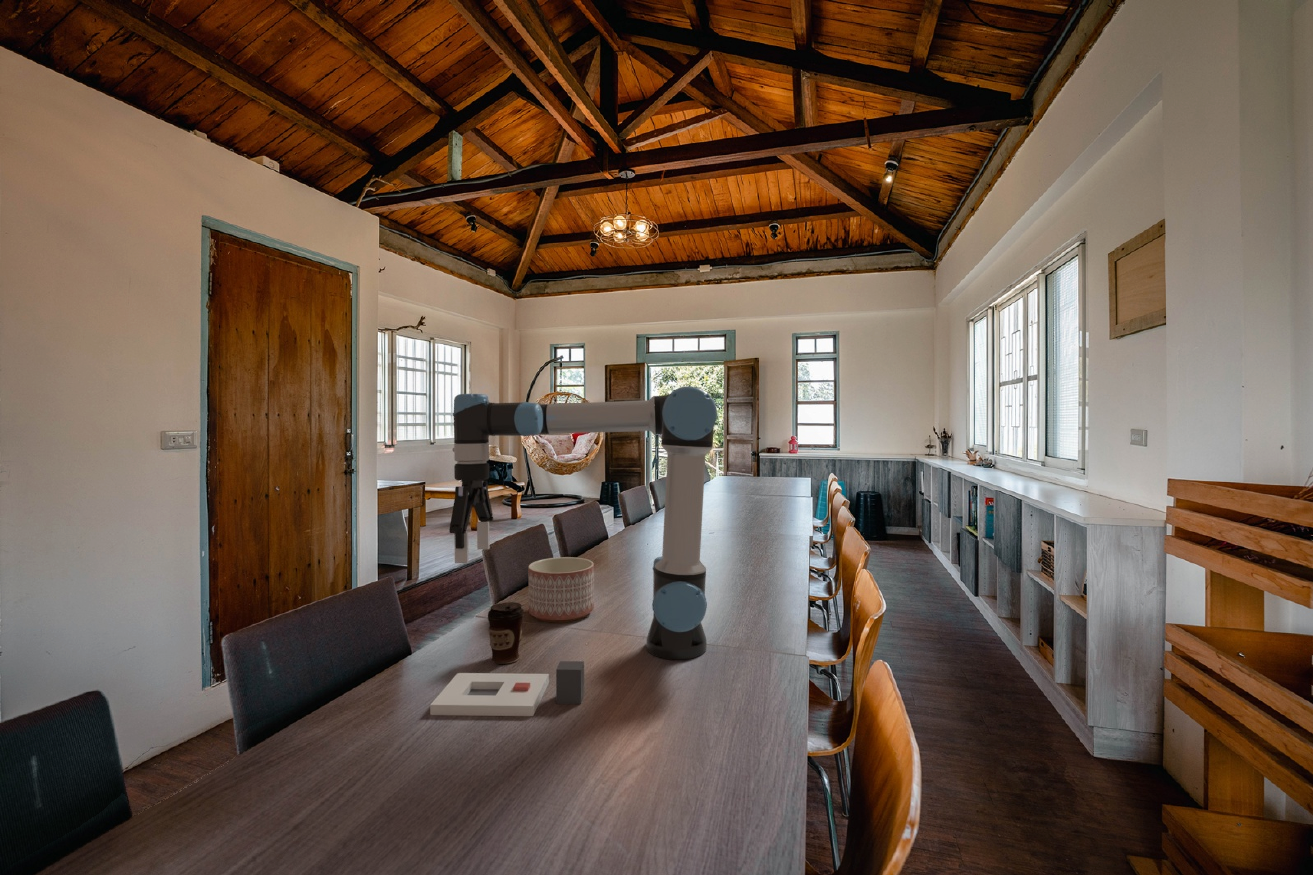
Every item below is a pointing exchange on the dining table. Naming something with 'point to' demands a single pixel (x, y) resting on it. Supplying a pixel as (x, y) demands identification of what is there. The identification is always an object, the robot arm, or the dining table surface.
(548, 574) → the planter
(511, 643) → the coffee cup
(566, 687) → the plug
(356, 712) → the dining table surface
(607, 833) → the dining table surface
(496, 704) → the faceplate
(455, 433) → the robot arm
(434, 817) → the dining table surface
